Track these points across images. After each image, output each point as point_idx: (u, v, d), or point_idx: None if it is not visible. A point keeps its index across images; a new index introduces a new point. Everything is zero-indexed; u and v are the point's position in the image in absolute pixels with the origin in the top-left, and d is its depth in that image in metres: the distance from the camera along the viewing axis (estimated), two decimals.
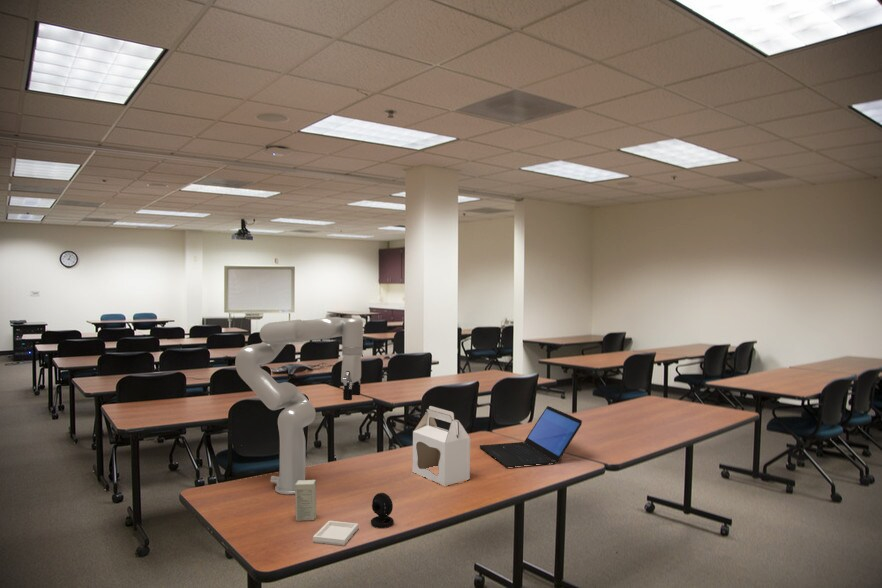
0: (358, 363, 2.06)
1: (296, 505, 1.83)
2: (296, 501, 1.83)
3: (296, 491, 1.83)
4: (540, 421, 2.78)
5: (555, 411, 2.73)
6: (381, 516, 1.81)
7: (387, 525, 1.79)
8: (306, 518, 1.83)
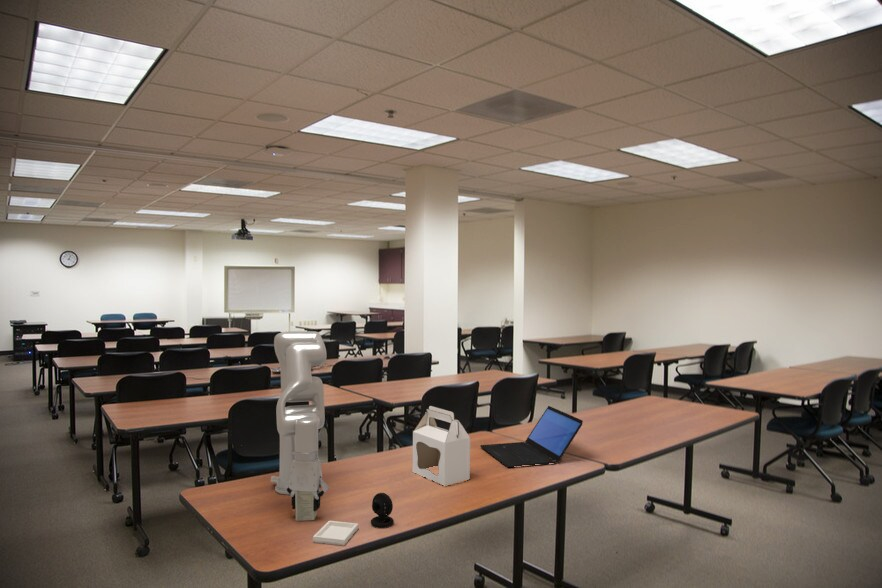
0: None
1: (296, 505, 1.83)
2: (296, 501, 1.83)
3: (296, 491, 1.83)
4: (541, 421, 2.78)
5: (556, 411, 2.73)
6: (381, 516, 1.81)
7: (387, 525, 1.79)
8: (306, 518, 1.83)
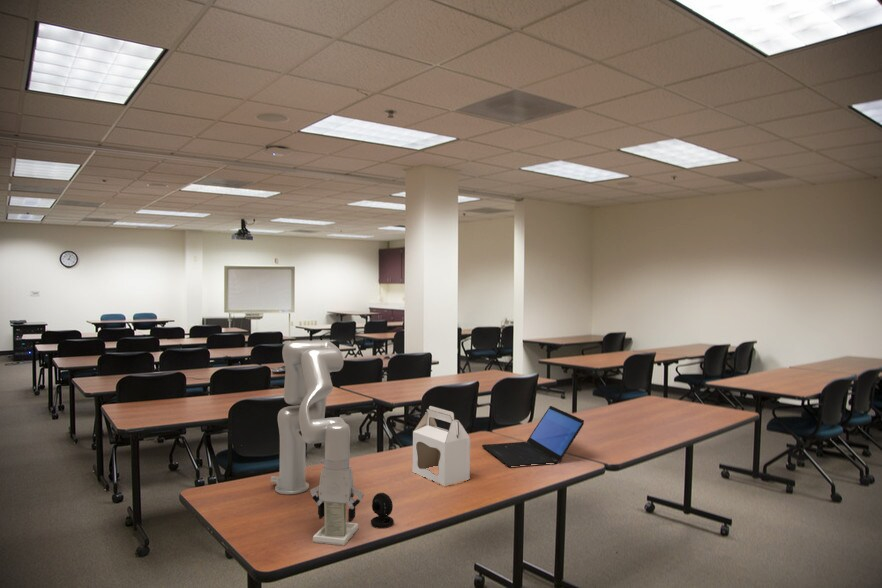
0: None
1: (325, 519, 1.70)
2: (325, 515, 1.70)
3: (325, 504, 1.70)
4: (543, 421, 2.79)
5: (558, 411, 2.73)
6: (381, 516, 1.81)
7: (387, 525, 1.79)
8: (336, 533, 1.70)
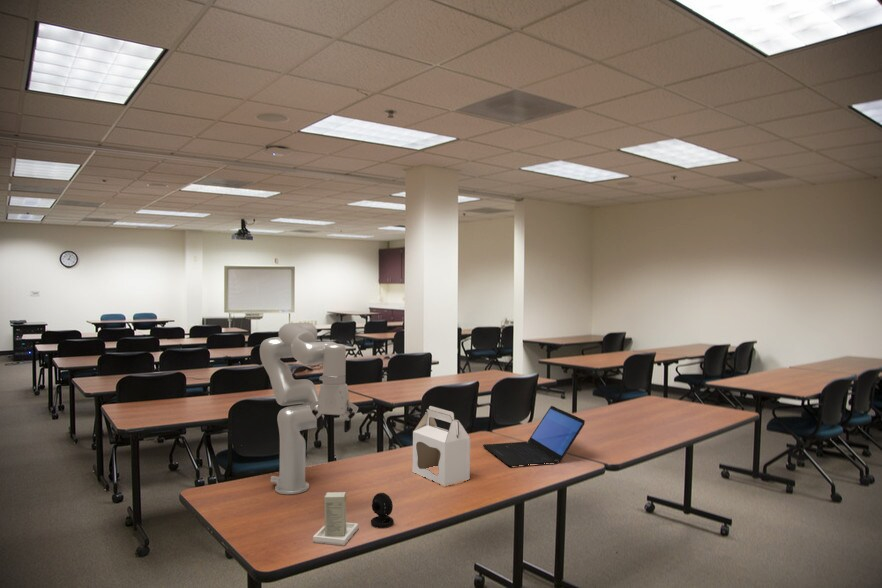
0: None
1: (325, 519, 1.70)
2: (325, 515, 1.70)
3: (325, 504, 1.70)
4: (544, 421, 2.79)
5: (559, 411, 2.74)
6: (381, 516, 1.81)
7: (387, 525, 1.79)
8: (336, 533, 1.70)
